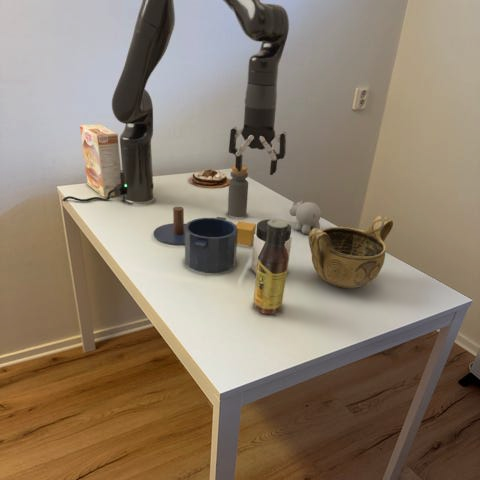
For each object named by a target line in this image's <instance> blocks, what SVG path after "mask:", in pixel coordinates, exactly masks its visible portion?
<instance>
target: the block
mask: <svg viewBox="0 0 480 480" xmlns="http://www.w3.org/2000/svg"><path fill="white" fill-rule="evenodd" d="M235 225H236V226H237V229H238V234H237V245H241V246H242V245H243V246H248V247H249V246H250V247H251V246H252V245H253V243H254V235H255V234H256V230H257V224H256V223H252V222H246V221H240V220H238V221H237V222H236V224H235Z"/></svg>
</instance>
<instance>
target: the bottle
mask: <svg viewBox="0 0 480 480" xmlns="http://www.w3.org/2000/svg"><path fill="white" fill-rule="evenodd" d="M235 165H236V164H234V165H232V166H231V170H232V171H231V172H230V177H231V179H229V180H230V181H229V184H228V196H227V215H228V216H230V217H234V218H243V217H245V216H247V209H248V196H249V182H248V180H247V178H248V177H249V173H248V166H246V165H244V164H242V170H241V171H238V169H236V167H235Z"/></svg>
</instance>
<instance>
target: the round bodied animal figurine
mask: <svg viewBox="0 0 480 480" xmlns="http://www.w3.org/2000/svg"><path fill="white" fill-rule="evenodd" d="M289 215H290V216H292V217H295V218H296V224H295V231H298V232H301V233H302V234H304V235H309V233H310V232H311V231H312V229H314V228H318V229H320V230H321V224H320V219H321V217H322V213H321V209H320V207H319V206H318V205H317V204H316V203H314V202H312V201H306V202H304V199H301V200H300V201H298V202H296V201H295V200H293V203H291V205H290V209H289Z"/></svg>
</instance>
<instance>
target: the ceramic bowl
mask: <svg viewBox="0 0 480 480" xmlns="http://www.w3.org/2000/svg"><path fill="white" fill-rule="evenodd" d="M393 226H394V221H393V220H392V219H391V218H388V217H386V216H385V215H378V216H377V217H376V218H374V220H373V221H372V222H371V224H370V225H369V227H368V229H367V230H362V229H358V228H354V227H347V226H329V227H325V228H322V229H321V228H320V229H318V228H314V229H312V230H311V231H310V233H309V234H308V237H307V239H308V244H309V249H310V254H311V262H312V265H313V268H314V270H315V272H316V273H317V275H318V276H319V277H320V278H321V279H322V280H323V281H325V282H326V283H328V284H329V285H331V286H334V287H337V288H341V289H356V288H360V287H363V286H367V285H368V284H370V283H371V282H372V281H373V280H374V279H375V278H376V277H378V276H379V273H380V272H381V270H382V268H383V267H384V263H385V259H386V250H387V246H386V243H385V240H386V239H387V237H388V235H390V232H391V231H392V229H393Z"/></svg>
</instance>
